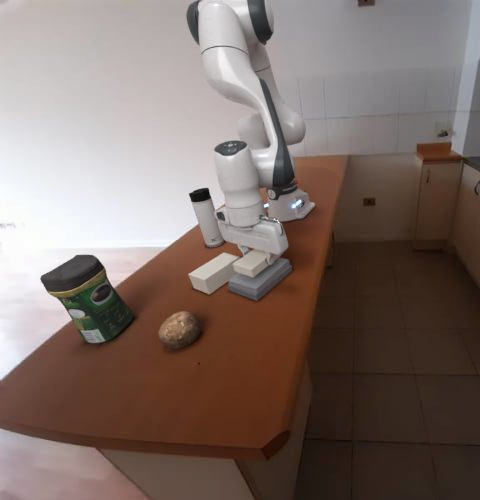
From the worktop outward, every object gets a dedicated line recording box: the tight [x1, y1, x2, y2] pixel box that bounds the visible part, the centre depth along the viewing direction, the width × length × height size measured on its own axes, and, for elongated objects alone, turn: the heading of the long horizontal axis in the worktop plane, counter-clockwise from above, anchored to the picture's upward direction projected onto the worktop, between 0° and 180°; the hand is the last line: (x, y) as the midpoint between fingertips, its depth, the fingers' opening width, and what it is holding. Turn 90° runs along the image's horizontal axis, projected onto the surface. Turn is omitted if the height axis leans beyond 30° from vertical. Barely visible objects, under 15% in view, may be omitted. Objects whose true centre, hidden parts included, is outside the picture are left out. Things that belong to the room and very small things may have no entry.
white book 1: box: [187, 251, 241, 287], centre depth 78 cm, size 12×6×2 cm, turn 151°
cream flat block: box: [233, 248, 284, 277], centre depth 75 cm, size 12×6×2 cm, turn 151°
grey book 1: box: [227, 256, 291, 294], centre depth 76 cm, size 14×10×2 cm, turn 154°
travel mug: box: [188, 187, 225, 248], centre depth 94 cm, size 6×7×20 cm
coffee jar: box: [40, 254, 134, 344], centre depth 60 cm, size 10×8×19 cm
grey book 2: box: [227, 264, 293, 302], centre depth 77 cm, size 15×10×2 cm, turn 151°
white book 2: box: [190, 269, 238, 295], centre depth 79 cm, size 12×6×2 cm, turn 151°
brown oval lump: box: [157, 310, 202, 350], centre depth 60 cm, size 8×8×6 cm
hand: (258, 260), depth 75 cm, fingers closed on cream flat block, 6 cm apart
